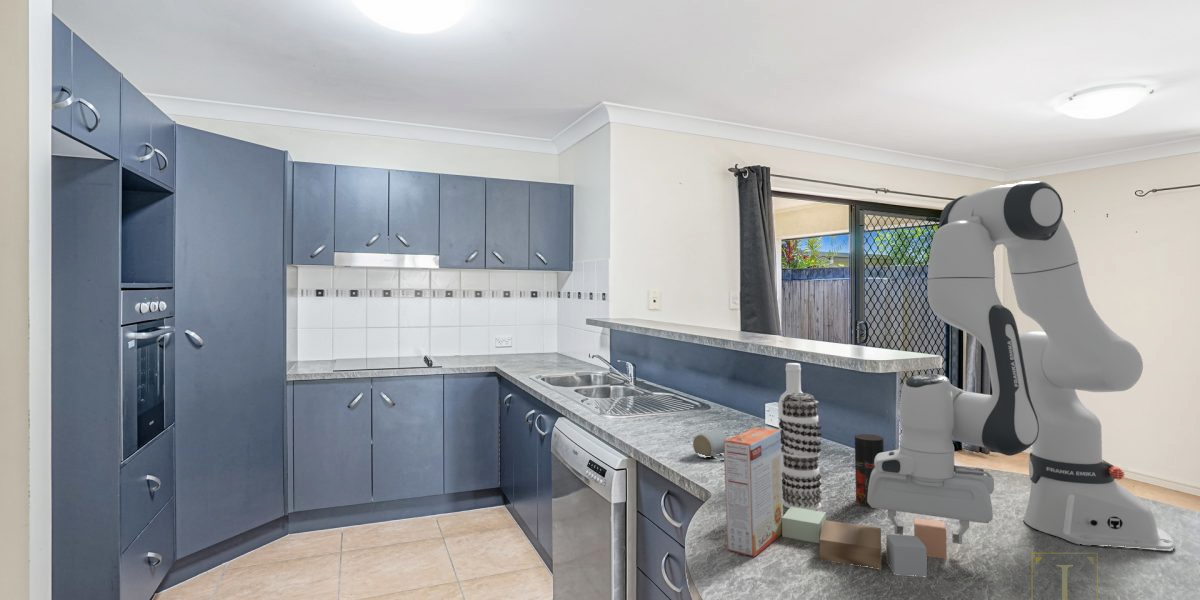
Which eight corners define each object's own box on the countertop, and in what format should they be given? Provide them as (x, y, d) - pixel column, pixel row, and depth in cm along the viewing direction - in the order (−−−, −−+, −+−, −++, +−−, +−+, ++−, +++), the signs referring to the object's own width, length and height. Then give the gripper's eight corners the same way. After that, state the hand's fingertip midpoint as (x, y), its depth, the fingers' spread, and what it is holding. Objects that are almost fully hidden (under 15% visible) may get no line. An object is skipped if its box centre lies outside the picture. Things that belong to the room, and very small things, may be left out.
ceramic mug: (691, 456, 178) (691, 430, 178) (709, 451, 183) (708, 426, 183) (719, 464, 170) (719, 437, 170) (737, 458, 175) (737, 432, 175)
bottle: (818, 482, 151) (816, 364, 151) (793, 486, 148) (791, 366, 148) (797, 473, 158) (795, 361, 158) (772, 477, 156) (770, 363, 155)
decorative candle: (772, 505, 135) (770, 395, 135) (792, 494, 142) (790, 390, 142) (811, 514, 129) (809, 399, 129) (829, 503, 135) (827, 394, 135)
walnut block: (881, 549, 112) (880, 527, 112) (881, 571, 103) (880, 548, 103) (824, 540, 116) (824, 520, 116) (819, 561, 107) (819, 539, 107)
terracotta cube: (944, 548, 111) (944, 521, 111) (946, 559, 106) (946, 531, 106) (914, 543, 113) (914, 517, 113) (915, 554, 109) (914, 526, 109)
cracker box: (756, 527, 123) (754, 425, 123) (784, 534, 119) (782, 429, 119) (724, 550, 112) (722, 439, 112) (754, 558, 108) (752, 443, 108)
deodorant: (887, 508, 132) (886, 440, 132) (859, 506, 133) (857, 439, 133) (880, 499, 138) (879, 434, 138) (853, 498, 139) (852, 433, 139)
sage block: (826, 532, 120) (825, 512, 120) (819, 544, 114) (818, 523, 114) (790, 525, 124) (790, 506, 124) (782, 537, 118) (781, 517, 118)
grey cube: (917, 564, 105) (916, 536, 105) (926, 577, 100) (926, 547, 100) (886, 562, 106) (886, 534, 106) (894, 575, 101) (894, 545, 101)
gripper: (991, 465, 108) (992, 541, 108) (868, 453, 117) (868, 523, 117) (996, 474, 102) (996, 555, 102) (866, 461, 112) (866, 534, 112)
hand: (927, 538), depth 110 cm, fingers open, 8 cm apart
